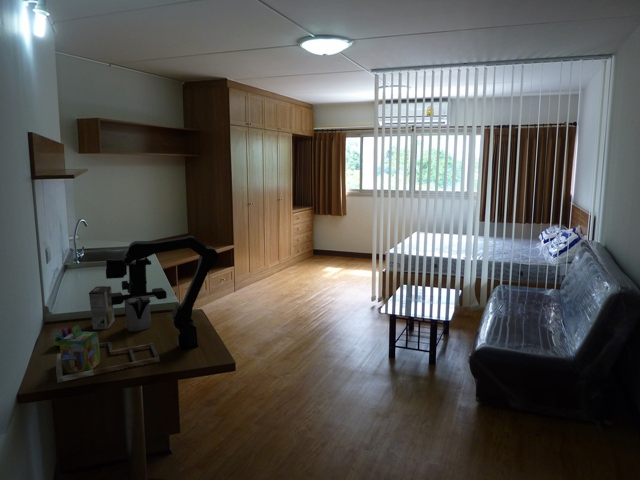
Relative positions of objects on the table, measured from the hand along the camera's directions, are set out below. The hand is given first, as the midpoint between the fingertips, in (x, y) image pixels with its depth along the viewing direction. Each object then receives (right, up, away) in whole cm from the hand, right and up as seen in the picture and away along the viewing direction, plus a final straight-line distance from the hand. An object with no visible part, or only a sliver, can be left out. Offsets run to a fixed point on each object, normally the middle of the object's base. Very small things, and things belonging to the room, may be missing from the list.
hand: (138, 318), depth 172 cm
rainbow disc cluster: (-31, -12, +10) cm, 35 cm away
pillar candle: (-11, -8, +28) cm, 31 cm away
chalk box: (-16, -15, -9) cm, 24 cm away
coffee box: (-27, -8, +31) cm, 42 cm away
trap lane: (-11, -14, -1) cm, 17 cm away
